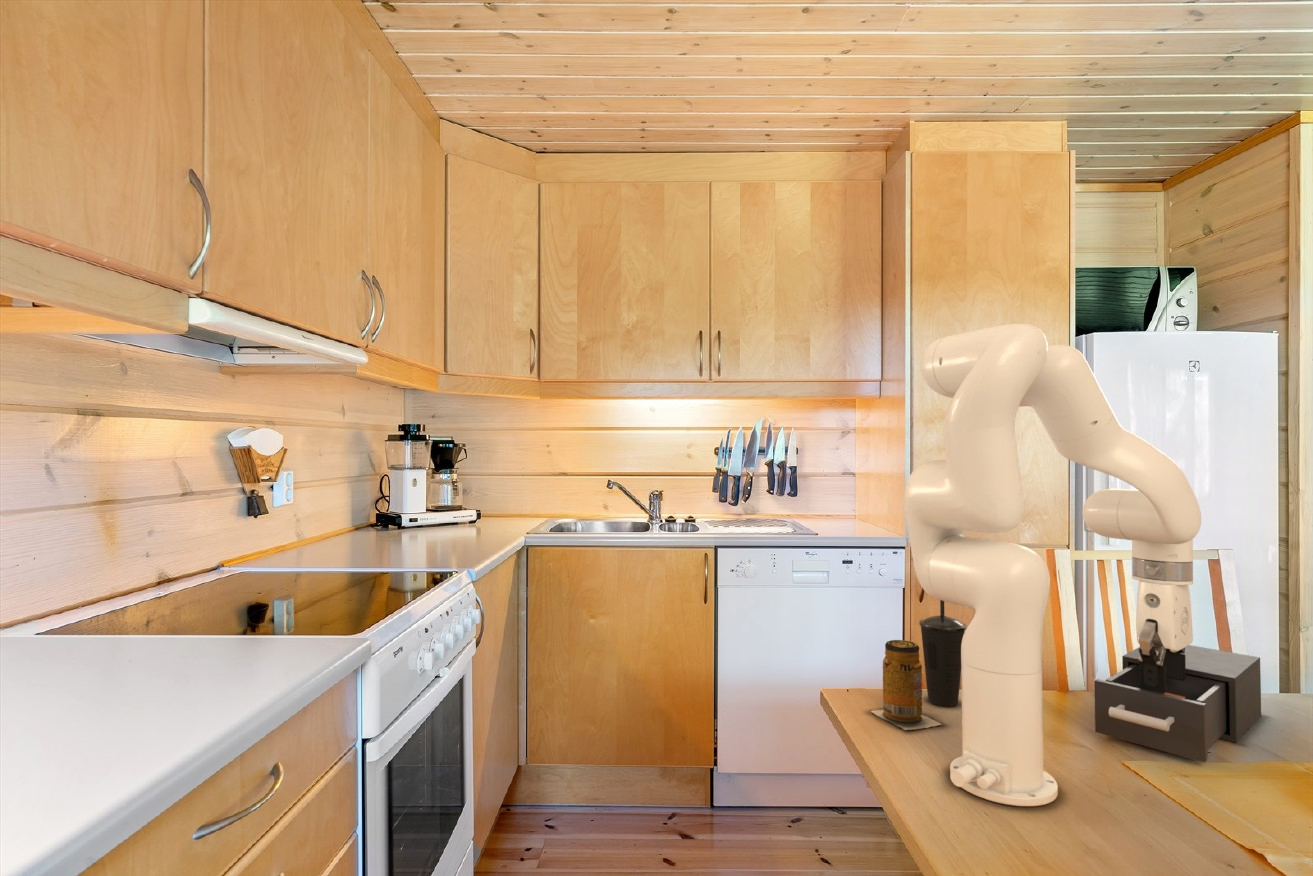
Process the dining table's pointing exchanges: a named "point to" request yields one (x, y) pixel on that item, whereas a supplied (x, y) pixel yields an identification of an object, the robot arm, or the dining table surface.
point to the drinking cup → (942, 657)
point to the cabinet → (1228, 668)
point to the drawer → (1162, 712)
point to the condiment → (903, 687)
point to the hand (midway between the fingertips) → (1162, 684)
